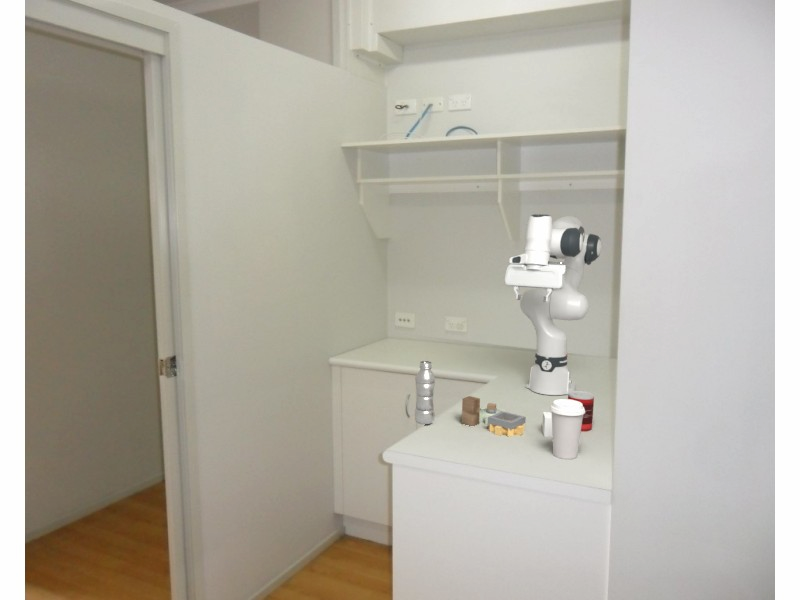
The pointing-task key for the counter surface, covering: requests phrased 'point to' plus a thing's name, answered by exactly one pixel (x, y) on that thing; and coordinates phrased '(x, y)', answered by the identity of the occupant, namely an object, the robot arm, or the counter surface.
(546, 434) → the white cube
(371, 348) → the counter surface
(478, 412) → the peg
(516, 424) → the frame
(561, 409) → the coffee cup
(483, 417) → the gear
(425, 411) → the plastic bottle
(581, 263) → the robot arm
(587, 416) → the canned food
